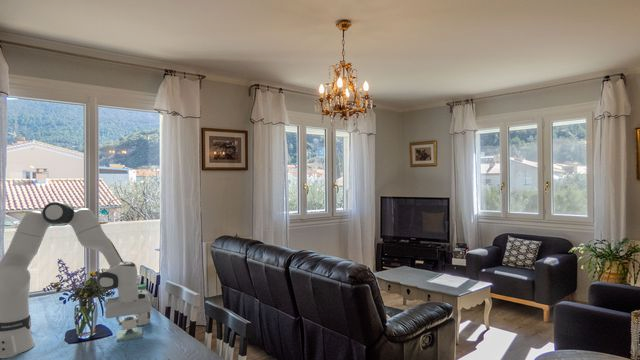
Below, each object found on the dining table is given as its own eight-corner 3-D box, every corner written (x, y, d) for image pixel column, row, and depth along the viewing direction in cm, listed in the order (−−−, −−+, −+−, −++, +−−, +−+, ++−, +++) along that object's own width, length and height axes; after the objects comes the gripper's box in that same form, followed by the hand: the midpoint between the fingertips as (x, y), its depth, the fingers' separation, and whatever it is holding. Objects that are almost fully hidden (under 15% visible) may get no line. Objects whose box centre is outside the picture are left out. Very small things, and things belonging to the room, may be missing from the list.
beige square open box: (122, 330, 190) (121, 322, 190) (122, 325, 195) (122, 317, 195) (136, 327, 192) (136, 319, 192) (136, 323, 198) (135, 315, 198)
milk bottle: (144, 326, 205) (143, 287, 204) (131, 325, 206) (129, 287, 206) (153, 320, 212) (152, 283, 212) (140, 320, 214) (139, 283, 213)
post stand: (116, 341, 187) (115, 323, 186) (117, 333, 197) (116, 315, 196) (142, 337, 191) (141, 319, 191) (141, 329, 201) (141, 311, 201)
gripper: (103, 300, 186) (104, 330, 187) (150, 294, 195) (151, 322, 195) (104, 297, 192) (105, 325, 192) (150, 290, 201) (151, 317, 201)
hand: (129, 323), depth 194 cm, fingers closed on beige square open box, 6 cm apart
